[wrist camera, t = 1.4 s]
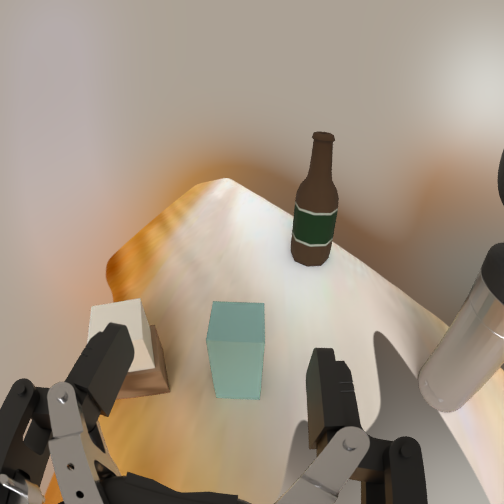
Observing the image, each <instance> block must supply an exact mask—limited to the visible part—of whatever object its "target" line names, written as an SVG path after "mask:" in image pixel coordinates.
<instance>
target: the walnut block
mask: <svg viewBox="0 0 504 504" xmlns="http://www.w3.org/2000/svg"><path fill="white" fill-rule="evenodd" d="M149 327H150V331H151V340H152V349H153V356H154V364H155V368H152V369H146V370H140V371H133V372H128V373H127V375H126V377H125V379H124V382H123V384H122V386H121V388H120V391H119V393H118V395H117V398H116V399H125V398H134V397H142V396H149V395H156V394H162V393H169V392H170V389H169V384H168V379H167V373H166V367H165V361H164V354H163V348H162V346H161V343H160V340H159V337H158V334H157V331H156V328H155V325H151V326H149Z"/></svg>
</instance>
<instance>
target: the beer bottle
mask: <svg viewBox="0 0 504 504" xmlns="http://www.w3.org/2000/svg"><path fill="white" fill-rule="evenodd" d="M312 138H313V139H314V142H313V149H312V156H311V162H310V169H309V172H308V176H307V177H306V179H305V180H304V181H303V182H302V183H301V184H300V187H299V189H298V191H297V194H296V200H295V209H294V220H293V230H292V240H291V253H292V255H293V258H294V260H295V261H296V262H298V263H301V264H303V265H305V266H321V265H322V264H323V263H324V262H325V261H326V260H327V259H328V258H329V254H330V250H331V245H332V239H333V234H334V228H335V222H336V217H337V210H338V199H339V198H338V193H337V190H336V187H335V185H334V184H333V181H332V172H331V170H332V148H333V142H334V141H335V138H334V135H332V134H331V133H327V132H314V133H313V136H312Z"/></svg>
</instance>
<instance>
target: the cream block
mask: <svg viewBox="0 0 504 504" xmlns="http://www.w3.org/2000/svg"><path fill="white" fill-rule="evenodd" d="M110 322H112V323H117V324H122V325H126V326H127V328H128V331H129V334H130V337H131V340H132V343H133V346H134V351H135V354H134V359H133V362H132V364H131V366H130V368H129V371H128V372H133V371H140V370H146V369H152V368H155V364H154V356H153V349H152V340H151V331H150V327H149V324H148V321H147V318H146V315H145V311H144V308H143V305H142V302H141V299H140V298H139V299H133V300H127V301H121V302H115V303H109V304H104V305H98V306H92V307H91V314H90V322H89V330H88V341H87V343H88V342H89V340H90V339H91V338H92V337H93V336H94V335H95V334H97V333H98V332H99V331H100V332H103V331H104V329H105V328H106V326H107V325H108V323H110Z"/></svg>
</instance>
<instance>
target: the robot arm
mask: <svg viewBox="0 0 504 504" xmlns="http://www.w3.org/2000/svg"><path fill="white" fill-rule="evenodd" d="M498 190H499V195H500V198H501V201H502V203H503V205H504V150H503V153H502V157H501V160H500V164H499V170H498ZM134 354H135V351H134V346H133V343H132V340H131V337H130V334H129V331H128V328H127V326H126V325H122V324H117V323H112V322H110V323H108V325H107V326H106V328H105V329H104V331H103V332H100V331H99V332H98V333H97V334H95V335H94V336H93V337H92V338H91V339H90V340H89V342H88V343H87V345H86V348H85V349H84V350H83V352H82V353H81V355H80V357H79V358H78V360H77V362H76V363H75V365H74V367H73V368H72V370H71V372H70V374H69V375H68V377H67V379H66V380H65V381H64V382H58V383H56V384H54V385H53V386H52V387H51V388H41V387H35V386H34V385H33V384H32V382H31V381H30V380H28V379H19V380H17V381H16V382H15V383H14V384H13V386H12V387H11V390H10V391H9V393H8V395H7V397H6V399H5V401H4V403H3V405H2V407H1V409H0V504H43V503H44V502H45V497H44V496H43V495H42V493H41V490H40V484H41V481H42V478H43V474H44V471H45V468H46V465H47V462H48V459H49V456H50V454H51V459H52V463H53V467H54V471H55V474H56V478H57V481H58V485H59V488H60V491H61V494H62V497H63V500H64V501H62V502H60V503H58V504H251V503H248V502H246V501H244V500H240V499H238V495H230V494H221V493H214V492H190V493H181V492H177V491H174V490H172V489H170V488H168V487H166V486H164V485H162V484H160V483H158V482H156V481H154V480H153V479H149V478H146V477H142V476H139V475H136V474H133V473H130V472H127V476H121V474H120V472H119V470H118V468H117V466H116V464H115V463H114V461H113V460H112V458H111V456H110V454H109V451H108V448H107V446H106V443H105V440H104V437H103V434H102V431H101V427H100V424H99V421H98V417H99V415H100V414H101V415H104V416H106V417H109V414H110V412H111V409H112V407H113V405H114V402H115V400H116V398H117V395H118V393H119V391H120V388H121V386H122V384H123V382H124V379H125V377H126V375H127V373H128V371H129V368H130V366H131V364H132V362H133V359H134ZM503 363H504V243H498V244H495V245H494V246H492V247H491V248H490V250H489V251H488V253H487V256H486V258H485V260H484V262H483V265H482V267H481V269H480V272H479V274H478V276H477V278H476V280H475V282H474V284H473V286H472V288H471V290H470V292H469V294H468V296H467V298H466V300H465V302H464V304H463V305H462V307H461V309H460V311H459V312H458V314H457V316H456V318H455V319H454V321H453V323H452V324H451V326H450V327H449V329H448V331H447V332H446V334H445V335H444V337H443V339H442V340H441V342H440V343H439V345H438V346H437V348H436V349H435V350H434V352H433V353H432V355H431V356H430V357H429V359H428V360H427V362H426V363H425V364H424V366H423V367H422V369H421V371H420V373H419V377H418V384H419V389H420V392H421V394H422V396H423V398H424V399H425V401H426V402H427V403H428V404H429V405H430V406H432V407H433V408H434V409H436V410H439V411H442V412H453V411H456V410H458V409H459V408H461V407H462V406H463V405H464V404H465V403H466V402H467V401H468V400H469V399H470V398H471V397H472V396H473V395H474V394H475V393H477V392H478V391H479V390H480V389H481V388H482V386H483V385H484V384H485V383H486V382H487V381H488V380H489V379H490V378H491V377H492V376H493V375H494V373H495V372H496V371H497V370H498V369H499V368H500V367H501V365H502V364H503ZM352 382H353V380H352V375H351V371H350V369H349V368H348V366H347V365H346V363H345V362H344V361H335V355H334V350H333V349H332V348H314V350H313V353H312V356H311V360H310V363H309V366H308V369H307V374H306V392H307V410H308V430H309V431H308V433H309V449H317V458H316V459H315V460H314V461H313V462H312V463H311V465H310V466H309V467H308V469H306V470H305V472H304V473H303V474H302V475H301V476H300V478H298V480H297V481H296V482H295V483H294V484H293V485H292V486H291V487H290V488H289V489H288V490H287V491H286V492H285V493H284V494H283V495H282V496H281V497H280V498H279V499H278V500H277V501H276V502H275V503H274V504H334V503H335V501H336V500H337V498H338V494H339V492H340V490H341V489H342V488H343V486H344V485H345V484H346V482H347V481H348V479H352V480H357V481H361V504H428V502H427V491H426V481H425V473H424V466H423V459H422V453H421V448H420V445H419V443H418V442H417V441H416V440H415V439H413V438H411V437H407V436H406V437H400V438H398V439H396V440H395V441H387V440H381V439H376V438H373V437H371V436H369V435H368V434H367V433H366V432H365V431H364V430H363V429H362V427H361V424H360V419H359V413H358V407H357V402H356V396H355V392H354V386H353V383H352ZM30 418H31V419H32V422H31V424H30V427H29V429H28V431H27V434H26V436H25V439H24V441H23V434H24V432H25V430H26V427H27V425H28V423H29V420H30Z"/></svg>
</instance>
